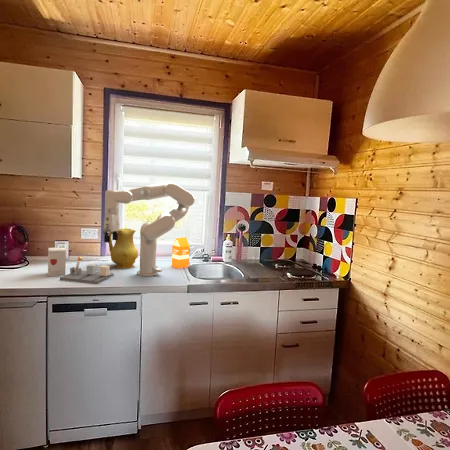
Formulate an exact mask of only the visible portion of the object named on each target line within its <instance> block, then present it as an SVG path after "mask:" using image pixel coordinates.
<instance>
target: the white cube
mask: <svg viewBox="0 0 450 450" xmlns="http://www.w3.org/2000/svg"><path fill="white" fill-rule="evenodd" d="M85 269H86V270H85V271H86V274H90V275H94V274H96V273H97V272H98V271H97V270H98V264H96V263H95V264H93V263H92V264H91V263H90V264H86V268H85Z"/></svg>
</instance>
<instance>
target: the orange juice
mask: <svg viewBox="0 0 450 450" xmlns="http://www.w3.org/2000/svg"><path fill="white" fill-rule="evenodd" d="M171 247H172V249H171V250H172V251H171V267H173V268H175V269H182V268H189V265H190V244H189V241H188V238H187V236H184V237H176V239H175V240H174V242H173V243H172V246H171Z"/></svg>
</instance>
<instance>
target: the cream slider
mask: <svg viewBox="0 0 450 450" xmlns="http://www.w3.org/2000/svg"><path fill="white" fill-rule="evenodd" d="M110 269H111V267H110V265H106V264H103V265H101V266H99V272H100V276H107V275H110V273H111V271H110Z"/></svg>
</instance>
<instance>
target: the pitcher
mask: <svg viewBox="0 0 450 450" xmlns="http://www.w3.org/2000/svg"><path fill="white" fill-rule="evenodd" d="M112 233H113V232H110V235H109V236H110V242H109V243H108V247H109V249H108V250H109V252H110V260H111V262H112V263H114V264H115V265H114V268H116V269H130V268H134V267H135V264H134V263H136V260H137V258H138V257H139V252H138V249H137V247H136V246H135V243H134V234H135V233H136V230H135V229H131V228H119V230H118V233H117V234H118V240H115V241H114V244H113V240H112Z"/></svg>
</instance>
